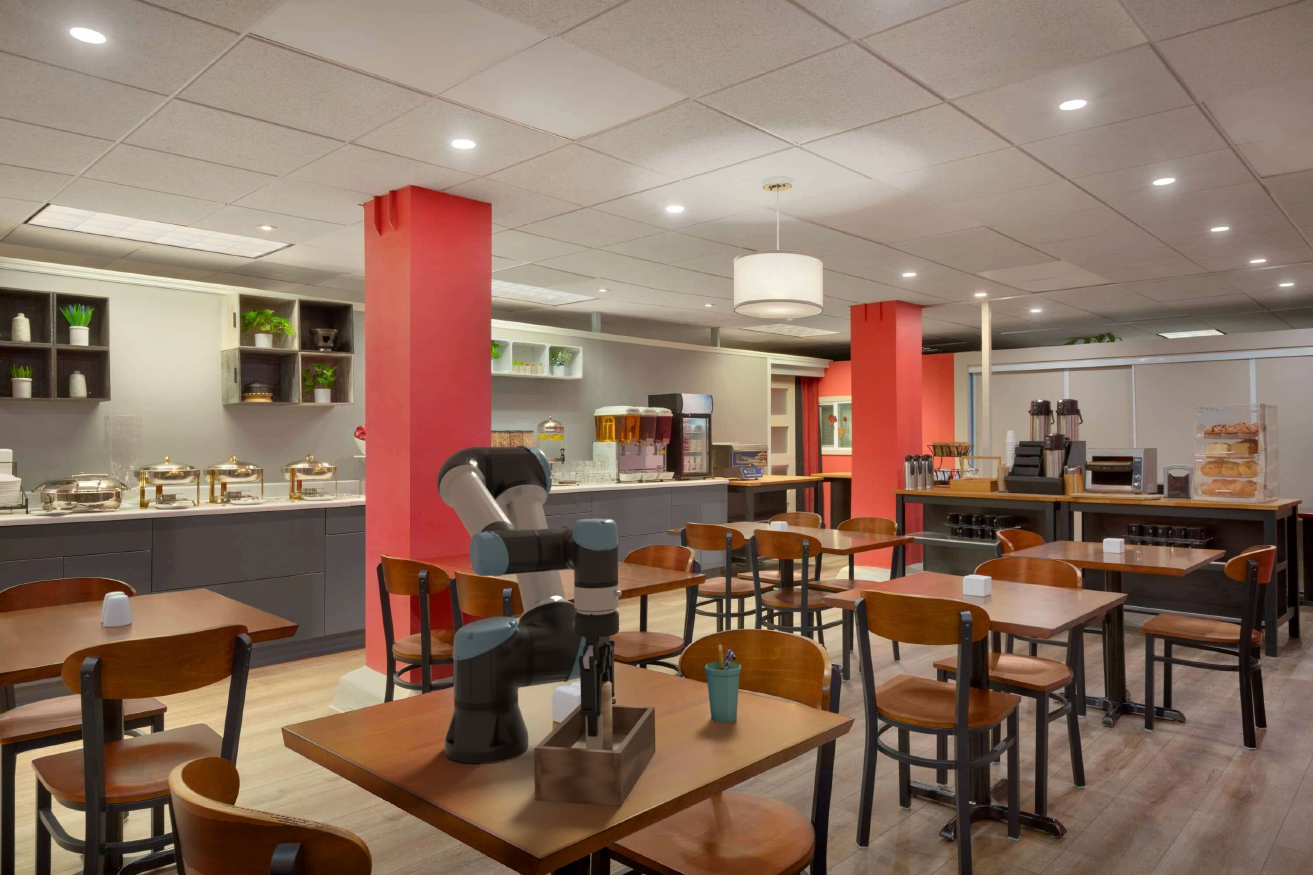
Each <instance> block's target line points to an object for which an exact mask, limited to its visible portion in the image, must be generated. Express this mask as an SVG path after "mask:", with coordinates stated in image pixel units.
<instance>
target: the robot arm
mask: <svg viewBox="0 0 1313 875" xmlns="http://www.w3.org/2000/svg"><path fill="white" fill-rule="evenodd" d="M550 465H551V464H550V462H549V460H548V457H547V456H546V454H545V453H544V451H543V450H541V449H540V448H538V447H535V446H525V445H518V446H471V447H465V448H463V449H460V450H458V451H456V452H455V453H453V454H452V455H450V456H449V457H448V458H447V459H445V461H444V462H443V464H442V465H441V466H440V468H439V471H438V473H437V477H436V487H437V492H438V494H439V496H440V498H441V499H442V501H443V502H444V504H445V505H447V506H448V507H450V508H452V509H453V510H454V511H455V513H456V514H457V516H458V518H459V519H460V522H461V523H462V524H463V526H464V527H465V529H466V532H468V535H469V536H470V538H471V540H470V544H469V560H470V564H471V569H472V571H473V573H474V574H475V575H477V576H480V577H489V576H490V577H500V576H506V575H507V576H509V575H516V580H517V584H518V589H519V594H520V598H521V602H522V607H523V612H522V614H521V615H520V617H519V619H518V621H517V619H516V618H515V617H513V616H499V617H497V616H495V617H493V616H492V617H488V618H484V619H479V620H475V621H472V622H469V623H467V624H465V625H463V626H461V627H460V628H459V629H458V630H457V631H456V632H455V634H454V637H453V648H452V655H451V656H452V659H453V701H454V702H453V705H454V706H453V707H454V708H453V712H452V716H451V719H450V722H449V725H448V729H447V732H446V736H445V739H444V756H446V757H447V758H448V759H450V760H452V761H455V762H459V763H467V764H486V763H488V764H489V763H495V762H500V761H501V762H502V761H505V760H508V759H512V758H515V757H517V756H520V755H521V754H523V753H525V752H526V751H528V750H527V749H528V748H529V734H528V728H527V726H526V723H525V721H524V717H523V714H522V711H521V709H520V706H519V689H520V688H525V687H533V686H534V687H535V686H541V685H542V686H543V685H549V684H554V683H562V682H563V683H567V682H569V681H573V680H576V679H577V680H578V679H580V682H579V683H580V704H581V712H580V716H586V749H596V750H603V715H600V714H601V712H600V710H601V688H602V681H609V682H611V683H612V705H616V703H617V698H615V695H616V694H615V645H616V642H615V640H614V639H610V637H612V636H615V635H617V634H618V633H619V631H620V613H619V611H618V610H616V609H618V608H619V606H620V605H619V598H620V597H621V596H622V594H623V593H622V591H621V590H619V542H620V541H619V536H618V525H617V522H616V520H614V519H611V518H582V519H577V520H576V521H575V522H574V524H573V525H562V526H559V527H556V528H553V527H552V528H549V526H548V523H547V518H546V513H545V511H544V508H543V507H544V504H545V503H546V501H547V498H548V496H549V494H550V492H551V490H552V486H553V485H552V484H553V482H552V481H553V478H552V468H551V466H550ZM566 570H567V571H569V570H573V578H574V579H573V585H574V586H573V593H574V594H573V596H574V597H573V599H574V600H573V602H572V601H569V600H567V597H566V593H565V589H564V585H563V581H562V577H561V574H560V571H566Z"/></svg>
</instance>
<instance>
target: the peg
mask: <svg viewBox="0 0 1313 875" xmlns="http://www.w3.org/2000/svg"><path fill="white" fill-rule="evenodd" d="M612 699H613V697H612V683H611V682H609V681H602V688H601V710H600V712H601V714H600V715H603V750H613V735H612V705H613V704H612Z"/></svg>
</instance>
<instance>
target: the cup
mask: <svg viewBox="0 0 1313 875" xmlns="http://www.w3.org/2000/svg"><path fill="white" fill-rule="evenodd" d="M725 655H726V656H725V661H724V657H723V656H724V655H723V646H722V644H718V657H719V661H713V662H708V663H706V665H705V667H704V673H705V674H706V681H707V682H706V683H707V691H708V699H709V708H710V710H709V711H710V719H711V721H714V722H715V723H727V724H728V723H732V722H736V721H737V719H738V701H739V685H740V673H741V671H742V665H741V664H740V663H736V662H733V661H735V660H736V659H737V657H736V655H735V653H734V652H733V651H732V649H728V650H727V651H726V654H725ZM730 660H732V661H730Z"/></svg>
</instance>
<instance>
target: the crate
mask: <svg viewBox="0 0 1313 875" xmlns="http://www.w3.org/2000/svg"><path fill="white" fill-rule="evenodd" d="M655 709H656V707H655V706H642V705H641V706H640V705H625V704H624V705H621V704H619V705H618V704H612V735H613V750H596V749H586V716H580V712H581V703H580V704H579V705H578V706H576V707H575V708H574V710H573V711H571V713H569V714H568V715H567V716H566V717H565V718H564V719H563V720H562V721H561V722H559V724H557V725H556V727H555V728H554V729H552V731H551V732H549V733H548V734H547V735H546V736H545V737H544V738H543V739H542V740H541V741H540V742H539V743H538V744H537V745H535V747H533V753H534V754H533V757H534V758H533V759H534V760H533V761H534V762H533V763H534V764H533V765H534V766H533V767H534V772H533V773H534V800H535V801H536V800H537V801H548V802H561V803H562V802H563V803H573V804H588V805H589V804H590V805H601V806H614V807H615V806H617V807H622V806H623V805H624V802H625V801H626V799H627V798H628V797H629V794H630V793H631V791H632V789H633V788H634V787H635V785H636V783H637V781H638V780H639V779H640V777H641V776H642V774H643V772H644V771H645V769H646V768H647V766H648V764H649V762H650V761H651V760H652V758H653V756H654V755H655V753H656V748H657V747H656V710H655Z"/></svg>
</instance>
